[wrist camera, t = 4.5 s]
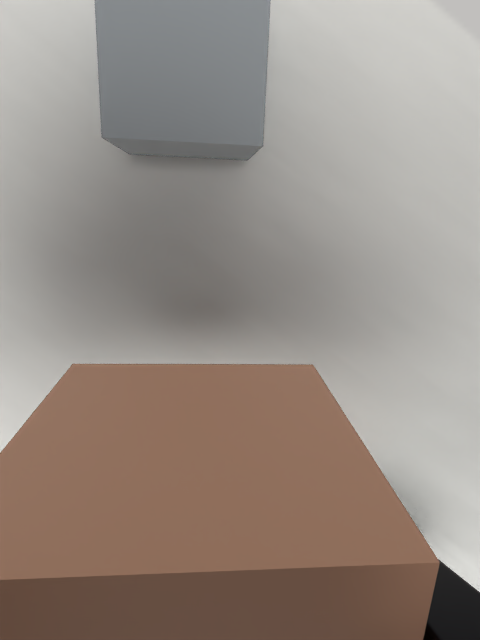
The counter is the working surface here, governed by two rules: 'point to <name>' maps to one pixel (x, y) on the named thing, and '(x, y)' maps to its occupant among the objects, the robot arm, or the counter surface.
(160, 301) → the counter surface
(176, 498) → the terracotta cube
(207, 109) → the slate cube
